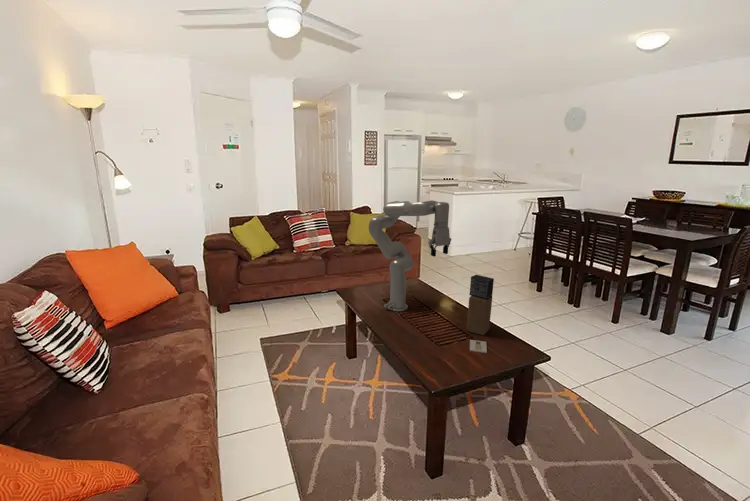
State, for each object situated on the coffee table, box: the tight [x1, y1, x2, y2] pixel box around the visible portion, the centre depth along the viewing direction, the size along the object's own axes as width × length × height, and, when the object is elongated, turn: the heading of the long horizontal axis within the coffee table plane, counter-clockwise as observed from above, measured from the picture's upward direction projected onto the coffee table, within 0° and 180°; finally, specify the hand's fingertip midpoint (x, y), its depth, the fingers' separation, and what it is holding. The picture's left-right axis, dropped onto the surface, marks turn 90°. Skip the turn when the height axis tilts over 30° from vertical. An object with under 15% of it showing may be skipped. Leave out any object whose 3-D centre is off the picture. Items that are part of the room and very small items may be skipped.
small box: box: [469, 274, 495, 300], centre depth 204 cm, size 11×6×10 cm, turn 48°
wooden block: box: [466, 295, 493, 336], centre depth 208 cm, size 10×10×20 cm
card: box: [469, 339, 488, 354], centre depth 192 cm, size 8×11×1 cm
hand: (439, 254), depth 216 cm, fingers open, 9 cm apart
